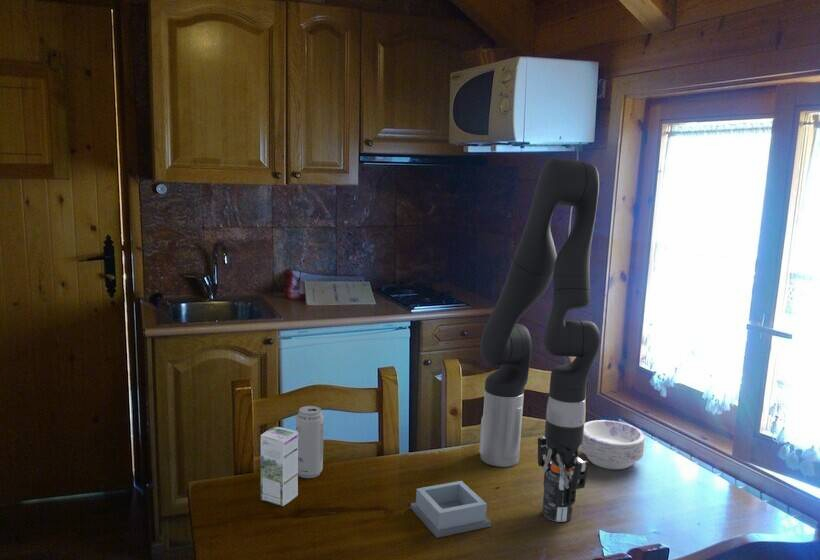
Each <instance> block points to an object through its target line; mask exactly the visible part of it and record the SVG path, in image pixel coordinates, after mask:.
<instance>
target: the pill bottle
mask: <svg viewBox="0 0 820 560" xmlns="http://www.w3.org/2000/svg"><path fill="white" fill-rule="evenodd" d="M571 470H572V468H570V469H566V472H569V471H571ZM569 480H570V482H571V481H572V476H569ZM564 487H565V483H564V478H563V477H562V476H561V473H560V468H559V466H558V465H557V464H556V463H554V462H552V463H551V470H549V471H548V472H547V473H546V475H545V486H544V485H543V499H542V509H541V512H542V515H543V516H544V517H545V518H546V519H547V520H550V521H551V522H552V521H553V522H558V523H561V522H568V521H569V520H571V518H572V517H573V506H574V504H572V505H568V506H566V505H565V504H563V498H564Z"/></svg>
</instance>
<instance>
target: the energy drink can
mask: <svg viewBox="0 0 820 560" xmlns="http://www.w3.org/2000/svg"><path fill="white" fill-rule="evenodd" d="M295 419H296V421H295V431H298V477H300V478H303V479H312V478H314V479H315V478H317V477H318V476H320V475H321V473H322V472H323V469H324V468H323V467H324V465H323V464H324V423H325V420H324V419H325V416H324V414H323V412H322V408H321V407H319V406H316V405H305V406H301V407H300V408H299V409H298V413H297V415H296V418H295Z"/></svg>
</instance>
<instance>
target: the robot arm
mask: <svg viewBox="0 0 820 560" xmlns="http://www.w3.org/2000/svg"><path fill="white" fill-rule="evenodd" d="M599 192H600V175H599V171H598V168H597V167H596V166H595V164H593V163H591V162H587V161H582V160H577V159H576V160H575V159H567V158H563V157H562V158H561V157H551V158H550V159H548V160H547V161H546V163H545V164H544V166H543V167H542V169H541V171H540V173H539V176H538V181H537V183H536V187H535V191H534V194H533V198H532V202H531V205H530V209H529V214H528V218H527V221H526V223H525V226H524V229H523V232H522V235H521V238H520V241H519V242H518V246H517V248H516V251H515V253H514V256H513V259H512V260H511V264H510V266H509V270H508V273H507V276H506V279H505V282H504V285H503V287H502V290H501V292H500V295H499V297H498V300H497V302H496V305H495V307H494V308H493V311H492V313H491V315H490V317H489V318H488V320H487V322H486V324H485V326H484V328H483V332H482V333H481V336H480V343H479V351H480V355H481V359H482V360H483V361H484V363H486V364H488V365H491V366H500V367H499V368H498V369H497V370H496V371H494V372H492V373H491V374H489V375H487V377H486V379H485V382H484V396H483V413H482V414H483V415H482V416H481V420H480V421H481V422H480V436H479V449H478V450H479V452H478V454H480V455H479V457H480V460H481V461H482V462H484V463H485V464H486V465H490V466H494V467H500V468H509V467H513V466H516V465H517V464H518V463H519V461H520V449H521V438H522V424H523V423H522V422H523V410H524V396H525V393H524V392H525V387H526V385H527V382H528V379H529V371H530V363H531V359H532V339H531V338H532V336H531V334H530V331H529V329H528V328H527V327H526V326H525V325H523V324H521V323H517V322H518V321H519V319H520V318H521V317H522V316H523V315H524V314H525V313H526V312H527V311H528V310H529V309H530V308H532V306H533V305H534V304H536V302H538V300H540V298H541V297H542V296H543V295H544V294H545V293H546V291H547V289H548V287H549V285H550V283H551V281H552V279H553V281H552V282H553V298H552V307H551V310H550V314H549V319H548V322H547V325H546V328H545V332H544V338H543V342H544V343H543V344H544V346H545V349H546V351H547V352H548V353H549V354H550V355H551V356H555V357H572V358H574V357H575V358H574V359H573V360H572V362H570V363H566V364H561V365H556V366H554V368H552V369H551V373H550V380H549V381H550V382H549V391H548V399H547V403H546V413H545V426H544V436H540V437H538V438H537V464H538V466H539V467H542V472H543V473H544V474H543V475H544V476H543V487H544V486H545V475H546V473H547V472H548V471H549V470H551V463H552V462H554V463H556V464H557V465H558V466H559V468H560V473H561V476H562V477H563V478H564V483H565V487H564V498H563V504H565V505H566V506H568V505H572V504H573V505H574V504H575V502H576V494H577V490H578V489H579V490H580V489H584V488H585V485H586V481H587V476H588V471H589V467H590V463H589V462H590V461H588V459H587V460H583V459H581V458H580V454H579V446H580V445H581V444H582V442H583V433H584V423H586V422H585V420H586V419H585V418H586V395H587V384H588V378H589V375H590V371H591V369H592V366H593V364H594V361H595V358H596V356H597V354H598V351H599V348H600V345H601V332H600V329H599V328H598V325H597V324H595V323H594V322H593V321H589V320H568V319H567V320H566V319H565V318H566V315H567V313H568V312H570V311H575V310H579V309H580V310H581V309H585V308H587V307H588V306H590V305H589V304H590V301H591V275H590V273H591V272H590V271H591V268H590V267H591V252H592V251H591V250H592V242H593V235H594V230H595V223H596V217H597V216H596V214H597V209H598V203H599V202H598V201H599ZM557 205H559V206H560V205H561V206H565V207H566V206H568V207H573V210H574V215H573V216H574V217H573V218H574V219H573V225H572V228H571V230H570V232H569V234H568V236H567V238H566V240H565V242H564V243H563V245H562V247H560V249H559V252H558V253H557V250H556V246H555V243H554V239H553V235H552V231H551V223H552V218H553V214H554V211H555V208H556V206H557ZM544 456H545V459H544ZM570 468H571V471H569V472H566V469H570ZM569 476H572V481H571V482H570V480H569Z"/></svg>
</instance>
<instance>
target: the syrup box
mask: <svg viewBox="0 0 820 560" xmlns="http://www.w3.org/2000/svg"><path fill="white" fill-rule="evenodd" d="M298 480H299V475H298V431H296V430H293V429H289V428H284V427H280V426H274V427H272V428H269V429H268V430H266V431H265V432H263V433H262V434H260V501H263V502H266V503H268V504H269V503H270V504H273V505H277V506H280V507H284V506H285V505H287V504H289V503H290V502H291V501H293V500H294V499H295V498H297V497H298V495H299V487H298V486H299V483H298V482H299V481H298Z"/></svg>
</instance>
